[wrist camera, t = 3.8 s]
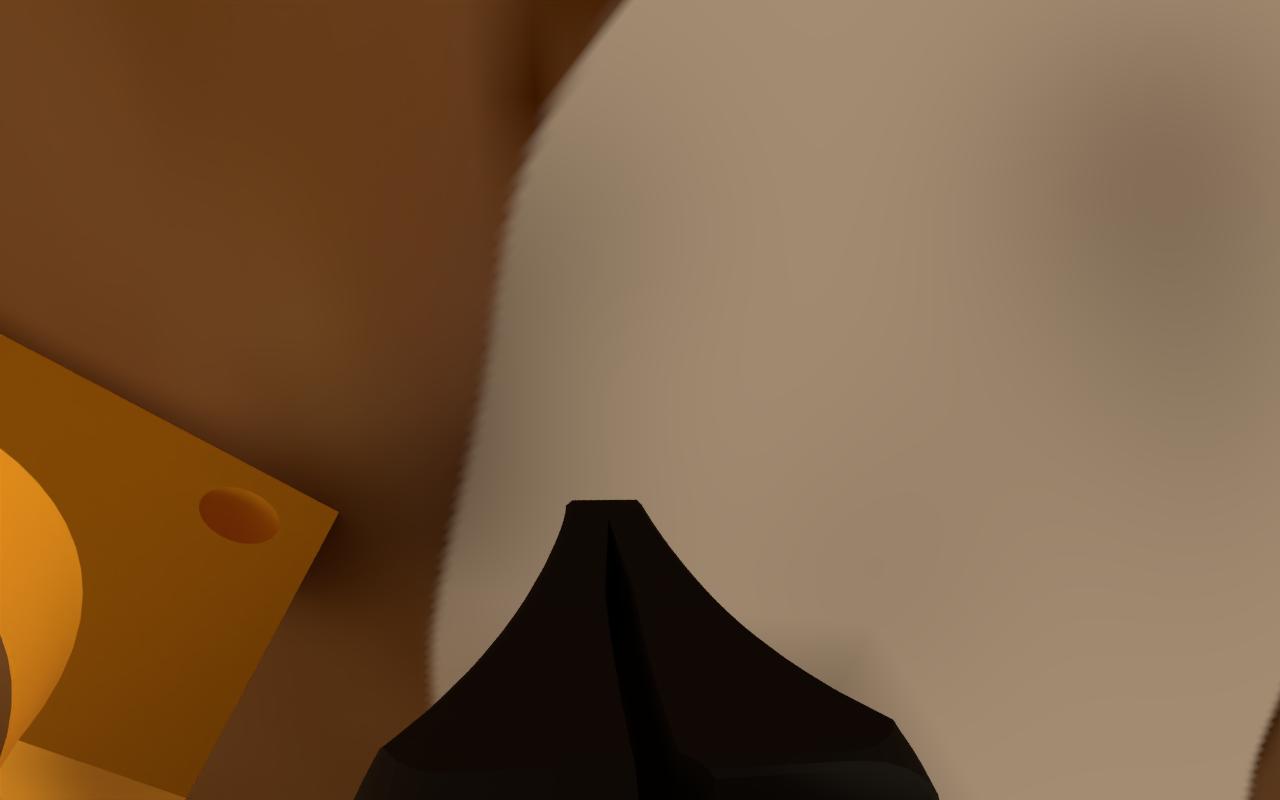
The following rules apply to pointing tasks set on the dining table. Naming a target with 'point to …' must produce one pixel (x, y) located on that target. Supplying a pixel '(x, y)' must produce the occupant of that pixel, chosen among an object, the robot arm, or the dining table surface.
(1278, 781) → the dining table surface
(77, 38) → the dining table surface
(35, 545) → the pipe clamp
